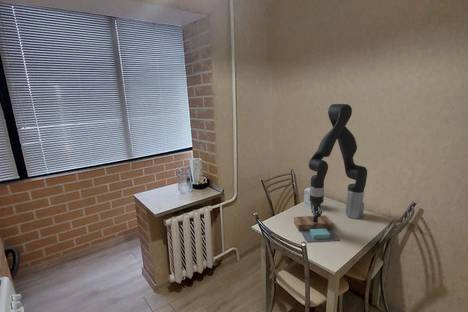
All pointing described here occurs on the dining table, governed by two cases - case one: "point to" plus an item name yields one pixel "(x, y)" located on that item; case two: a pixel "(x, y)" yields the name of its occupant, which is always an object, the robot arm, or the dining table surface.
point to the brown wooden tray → (312, 223)
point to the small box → (307, 198)
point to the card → (319, 233)
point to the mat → (310, 239)
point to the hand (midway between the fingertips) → (315, 221)
